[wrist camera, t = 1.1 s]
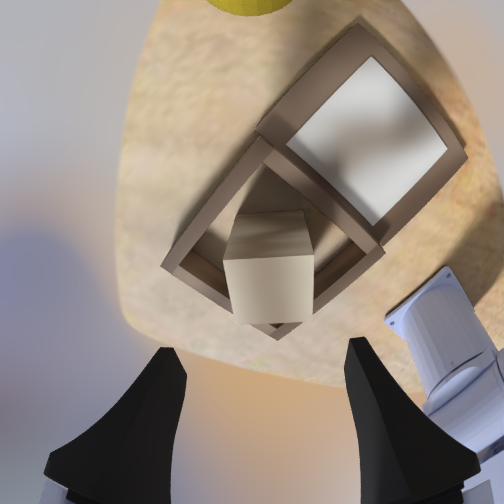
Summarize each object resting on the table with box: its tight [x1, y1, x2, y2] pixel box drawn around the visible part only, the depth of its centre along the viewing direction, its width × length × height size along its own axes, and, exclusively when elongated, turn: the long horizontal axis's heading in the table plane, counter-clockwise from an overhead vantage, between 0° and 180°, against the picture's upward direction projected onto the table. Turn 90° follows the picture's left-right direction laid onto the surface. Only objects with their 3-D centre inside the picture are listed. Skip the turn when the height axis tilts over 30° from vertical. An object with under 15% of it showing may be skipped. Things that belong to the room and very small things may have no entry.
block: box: [223, 210, 314, 325], centre depth 18 cm, size 5×5×6 cm
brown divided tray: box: [161, 23, 468, 341], centre depth 17 cm, size 12×21×2 cm, turn 141°
